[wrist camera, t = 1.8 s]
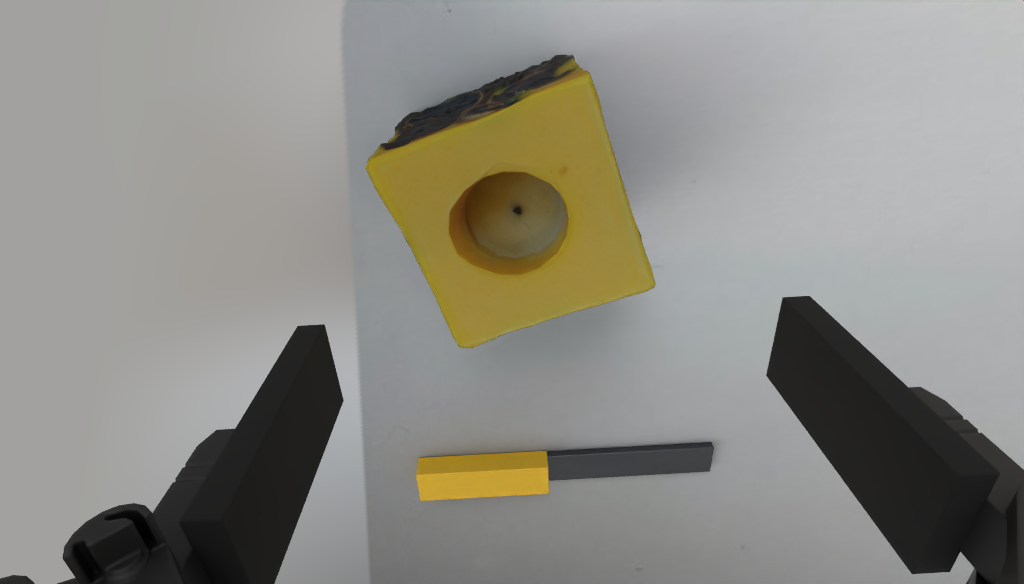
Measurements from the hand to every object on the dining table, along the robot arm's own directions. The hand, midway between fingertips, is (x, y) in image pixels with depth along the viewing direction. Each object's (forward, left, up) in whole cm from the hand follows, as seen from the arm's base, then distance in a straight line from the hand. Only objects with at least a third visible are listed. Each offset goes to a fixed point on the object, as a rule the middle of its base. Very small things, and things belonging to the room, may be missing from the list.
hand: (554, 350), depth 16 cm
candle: (-1, 0, -19) cm, 19 cm away
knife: (+17, -16, -18) cm, 30 cm away
